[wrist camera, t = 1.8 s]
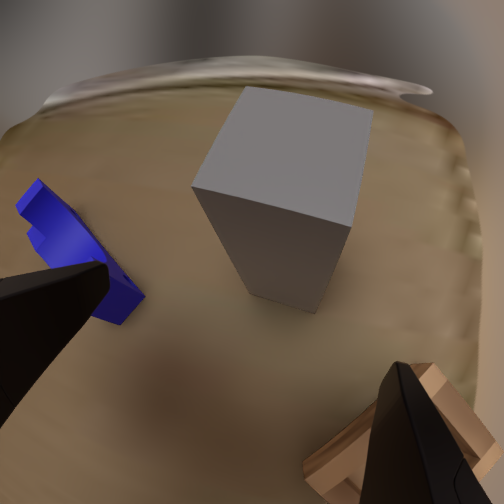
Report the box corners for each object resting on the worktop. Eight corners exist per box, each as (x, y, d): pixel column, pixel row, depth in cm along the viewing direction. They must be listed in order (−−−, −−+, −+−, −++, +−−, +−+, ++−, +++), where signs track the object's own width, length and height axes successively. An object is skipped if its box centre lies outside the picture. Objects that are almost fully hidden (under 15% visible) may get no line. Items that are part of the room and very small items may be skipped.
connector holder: (381, 534, 13) (394, 556, 9) (302, 461, 16) (304, 479, 13) (478, 444, 14) (503, 452, 11) (411, 364, 17) (433, 362, 14)
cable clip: (46, 246, 25) (5, 218, 19) (75, 211, 25) (38, 177, 20) (109, 339, 21) (58, 326, 15) (146, 296, 22) (103, 271, 16)
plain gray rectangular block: (314, 313, 20) (351, 227, 7) (249, 293, 21) (190, 185, 8) (332, 251, 21) (373, 110, 9) (271, 233, 22) (245, 86, 10)
